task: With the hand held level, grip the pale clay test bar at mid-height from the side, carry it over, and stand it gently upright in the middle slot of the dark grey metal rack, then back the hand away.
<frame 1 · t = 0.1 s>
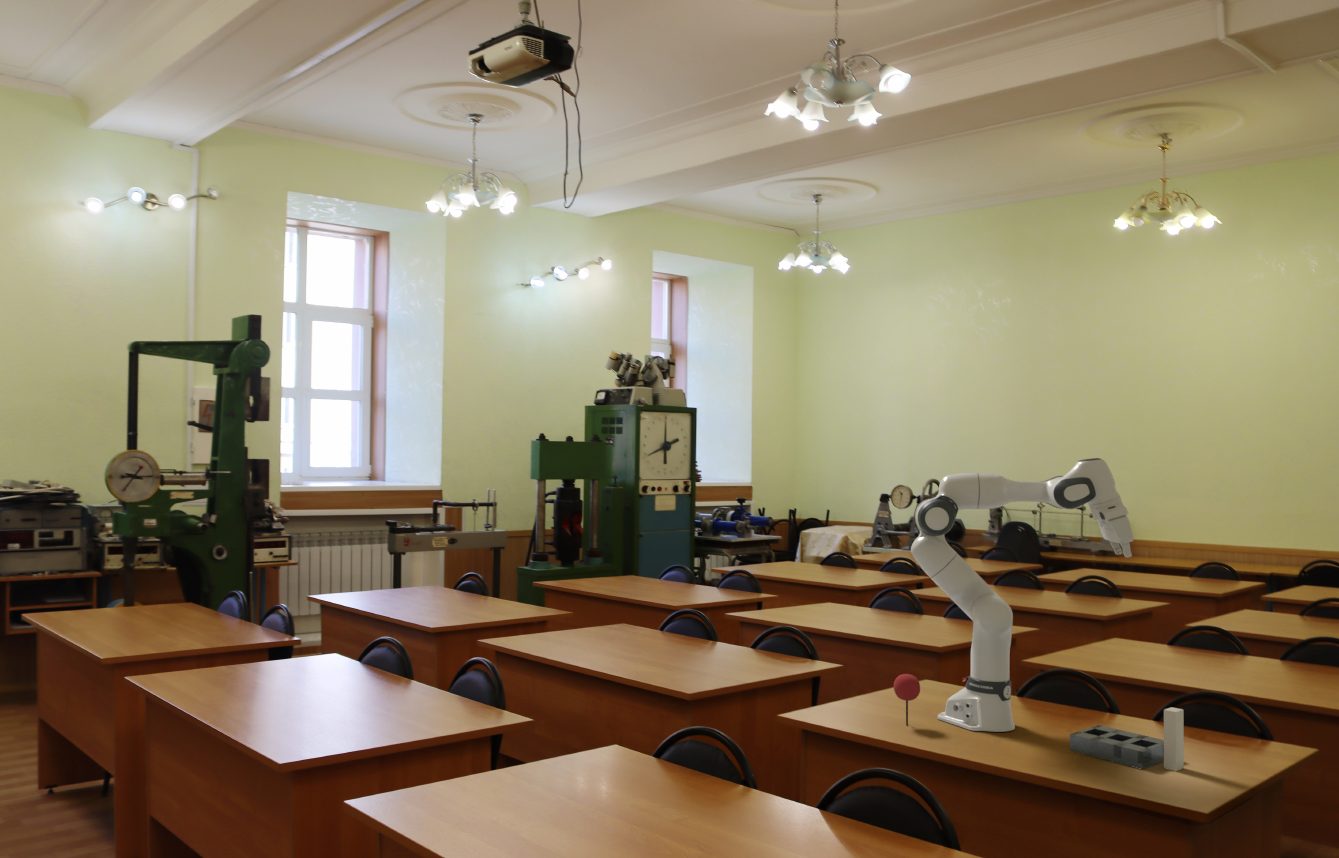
hand: (1124, 555, 277), 52 cm above the table, tool tilted 20°, fingers open, 8 cm apart
rack: (1119, 754, 256), on the table
lollipop: (906, 725, 281), on the table
clay bar: (1173, 768, 245), on the table
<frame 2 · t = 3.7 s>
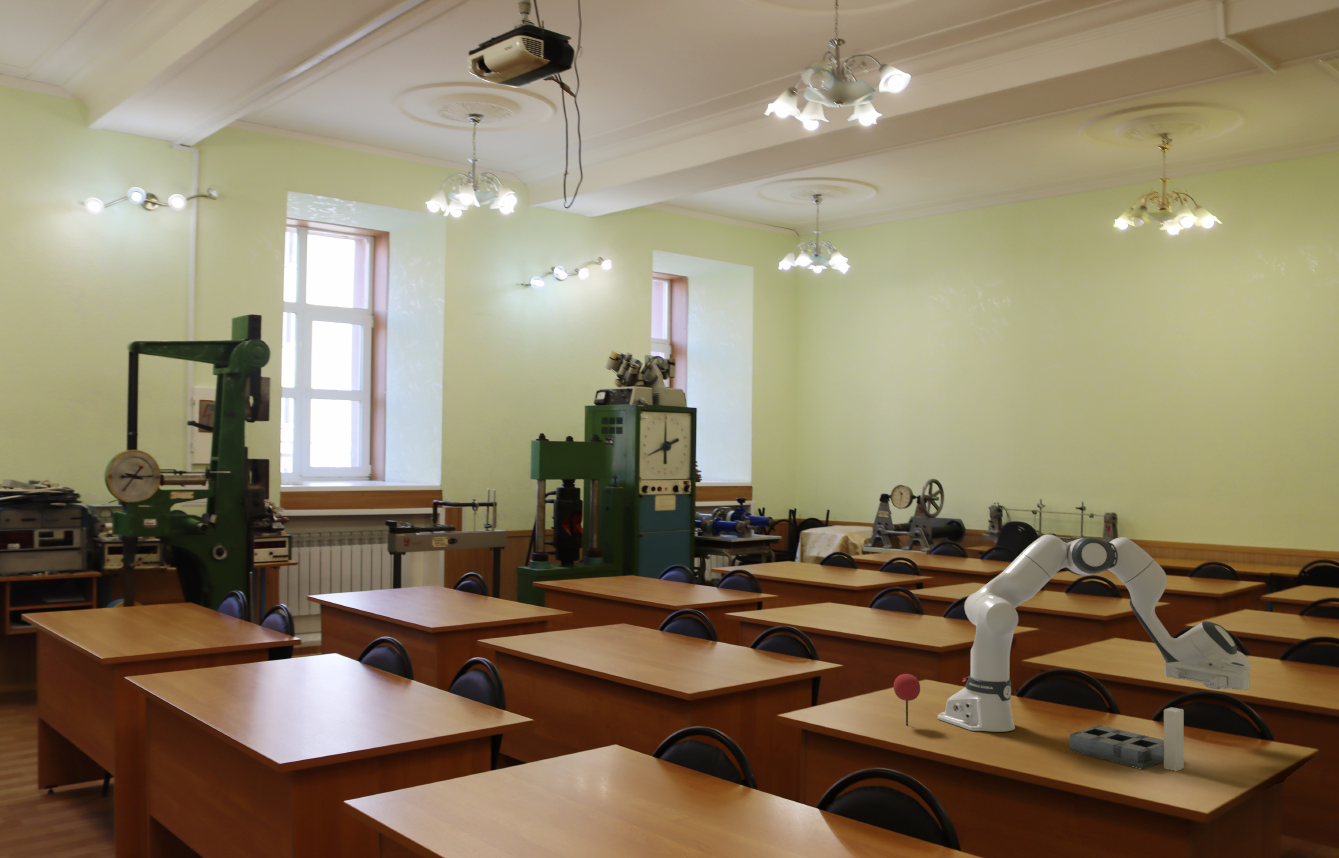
hand: (1193, 678, 253), 21 cm above the table, tool horizontal, fingers open, 8 cm apart
nothing on the table moved.
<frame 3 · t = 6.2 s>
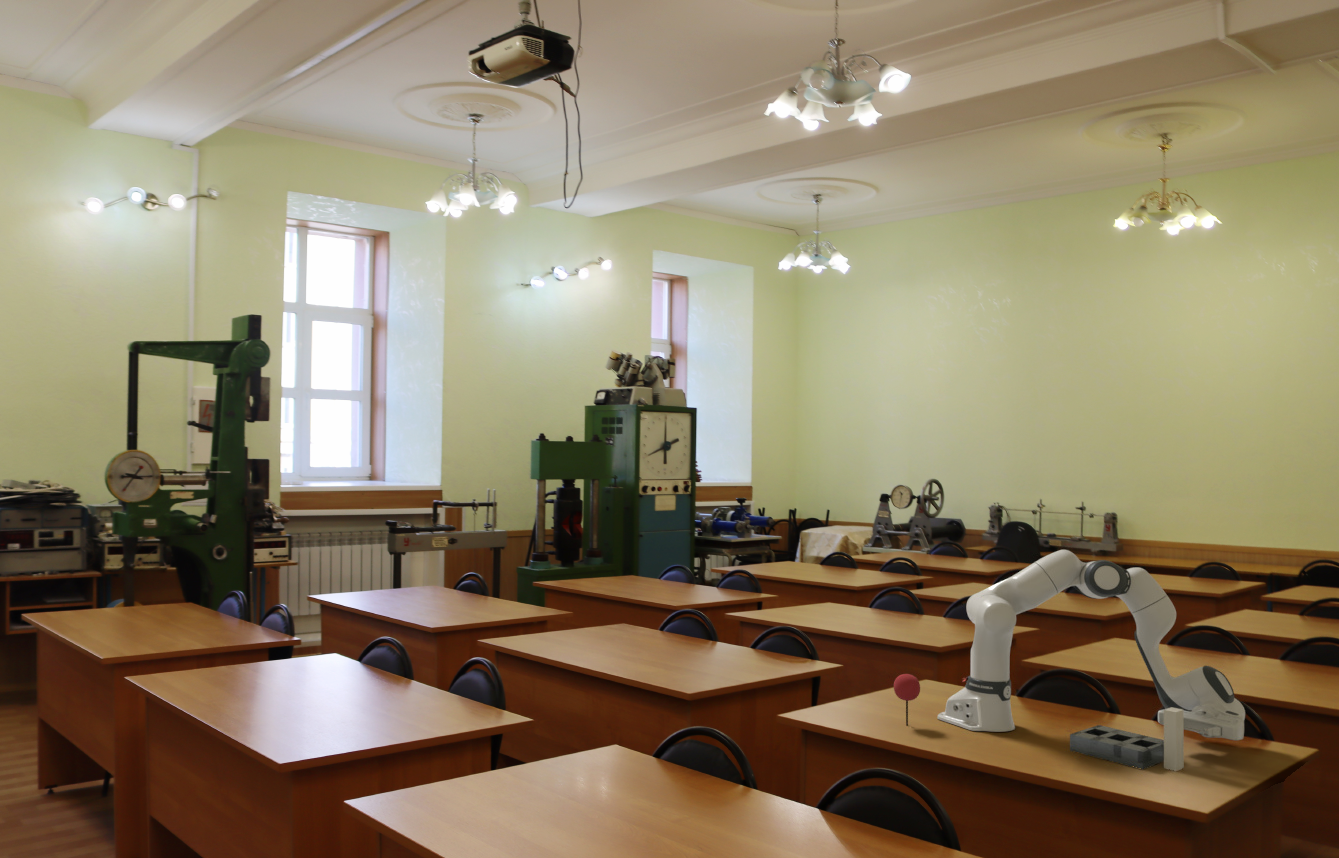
hand: (1187, 728, 251), 9 cm above the table, tool horizontal, fingers open, 8 cm apart
nothing on the table moved.
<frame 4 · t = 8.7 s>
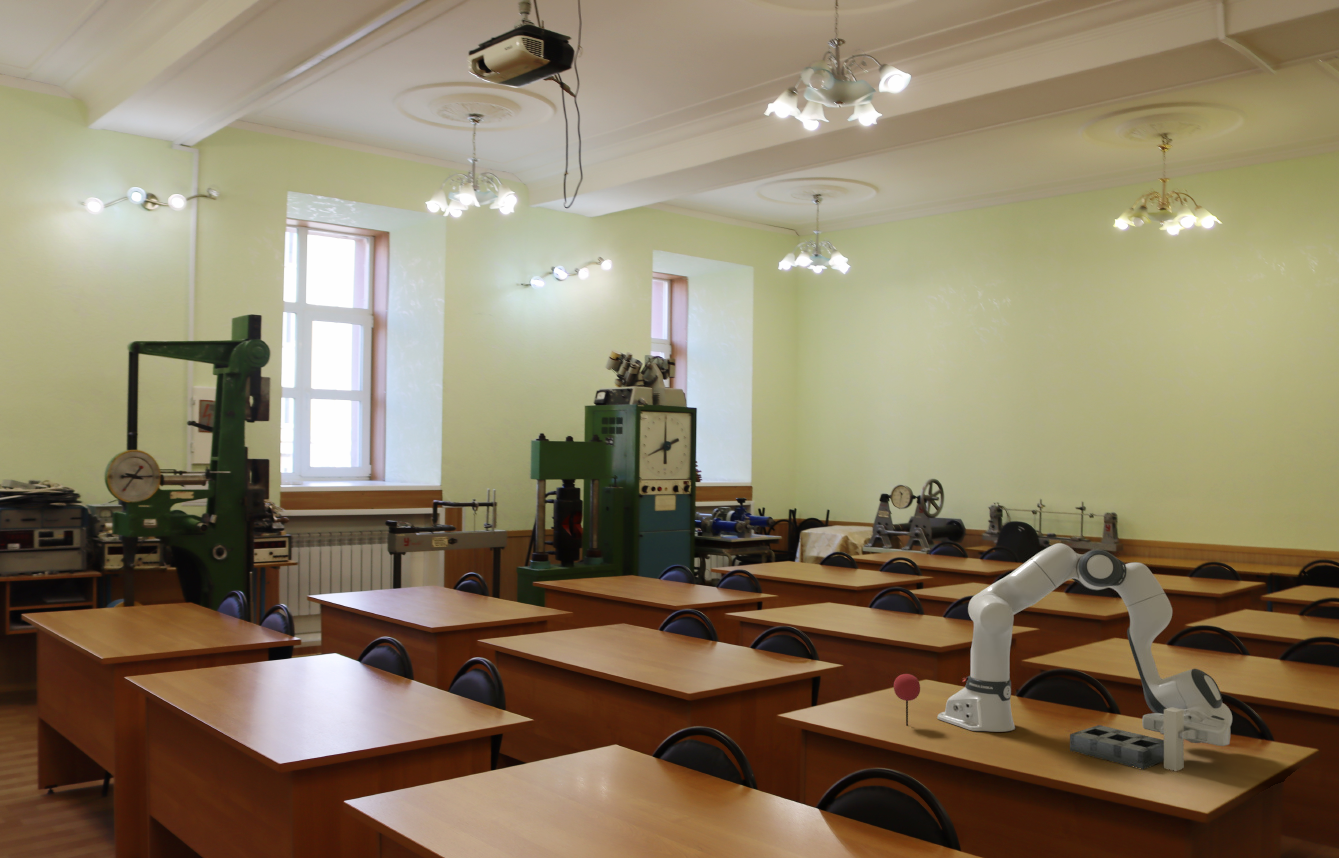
hand: (1172, 733, 245), 9 cm above the table, tool horizontal, fingers closed on clay bar, 3 cm apart
clay bar: (1173, 768, 245), on the table, touching gripper
everything else where it was.
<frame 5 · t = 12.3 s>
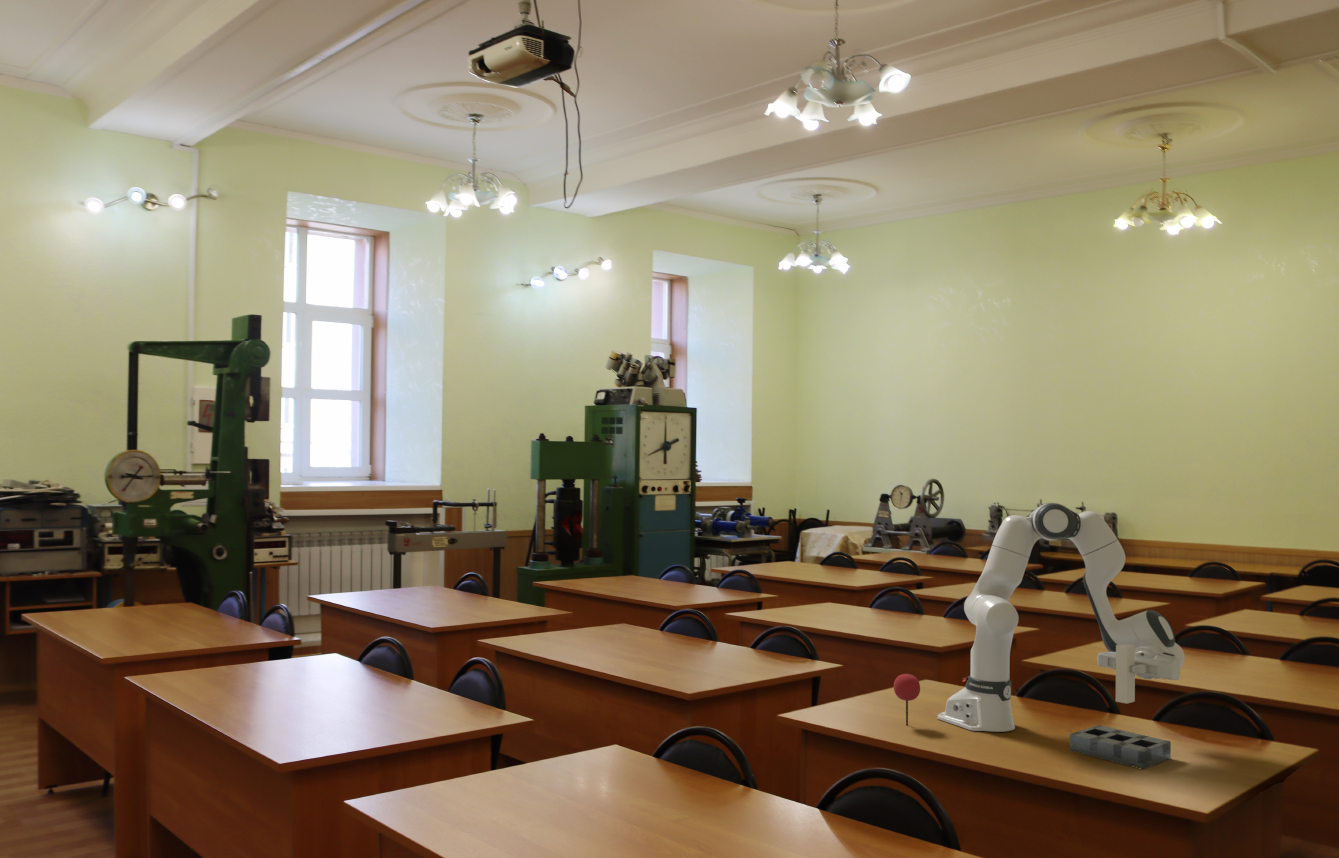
hand: (1123, 667, 255), 24 cm above the table, tool horizontal, fingers closed on clay bar, 3 cm apart
clay bar: (1125, 701, 255), point 15 cm above the table, touching gripper
everything else where it was.
when the fingers open (12 cm above the table, at t = 15.7 s): clay bar drops 1 cm, resting on rack.
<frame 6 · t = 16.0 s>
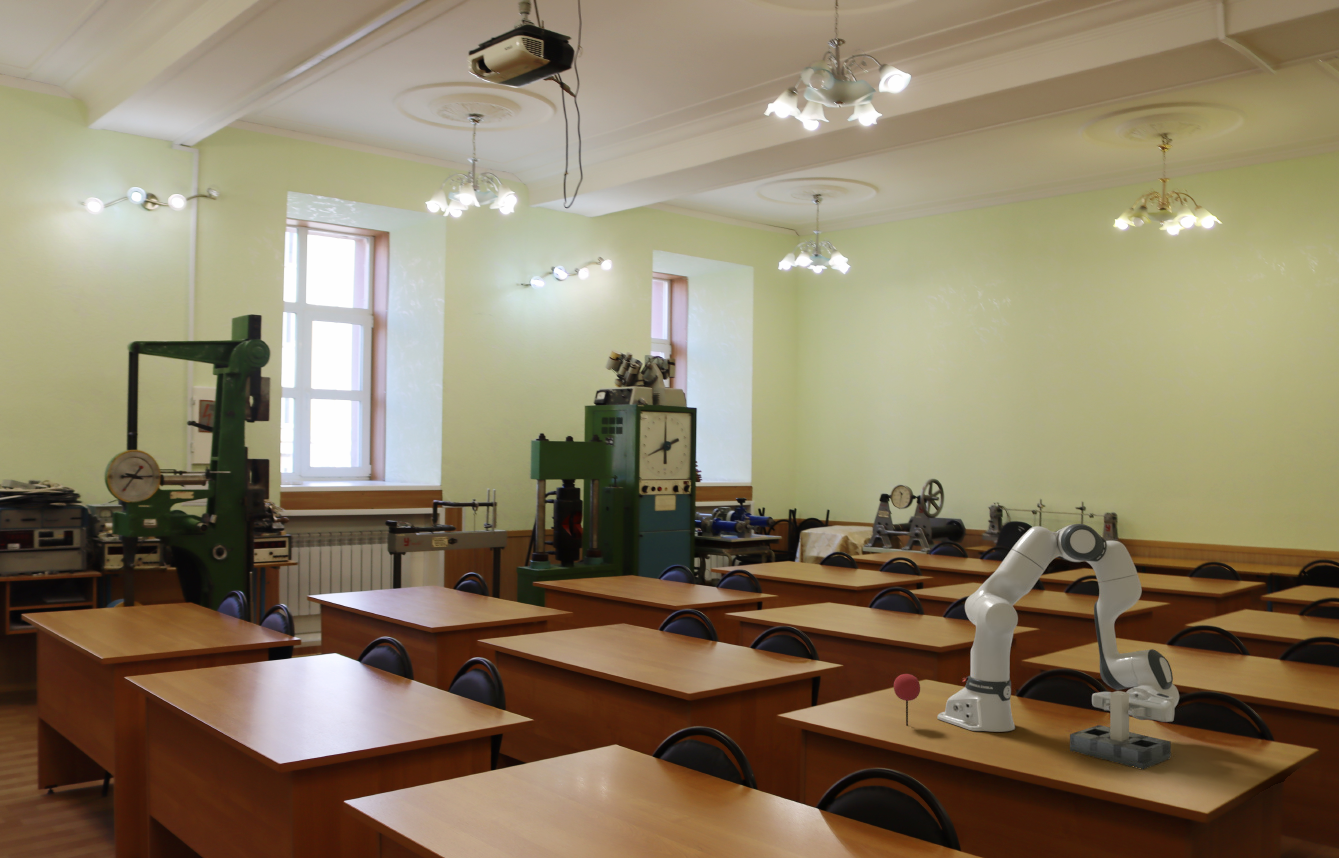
hand: (1118, 710, 256), 12 cm above the table, tool horizontal, fingers open, 5 cm apart
clay bar: (1119, 748, 256), point 2 cm above the table, touching rack
everything else where it was.
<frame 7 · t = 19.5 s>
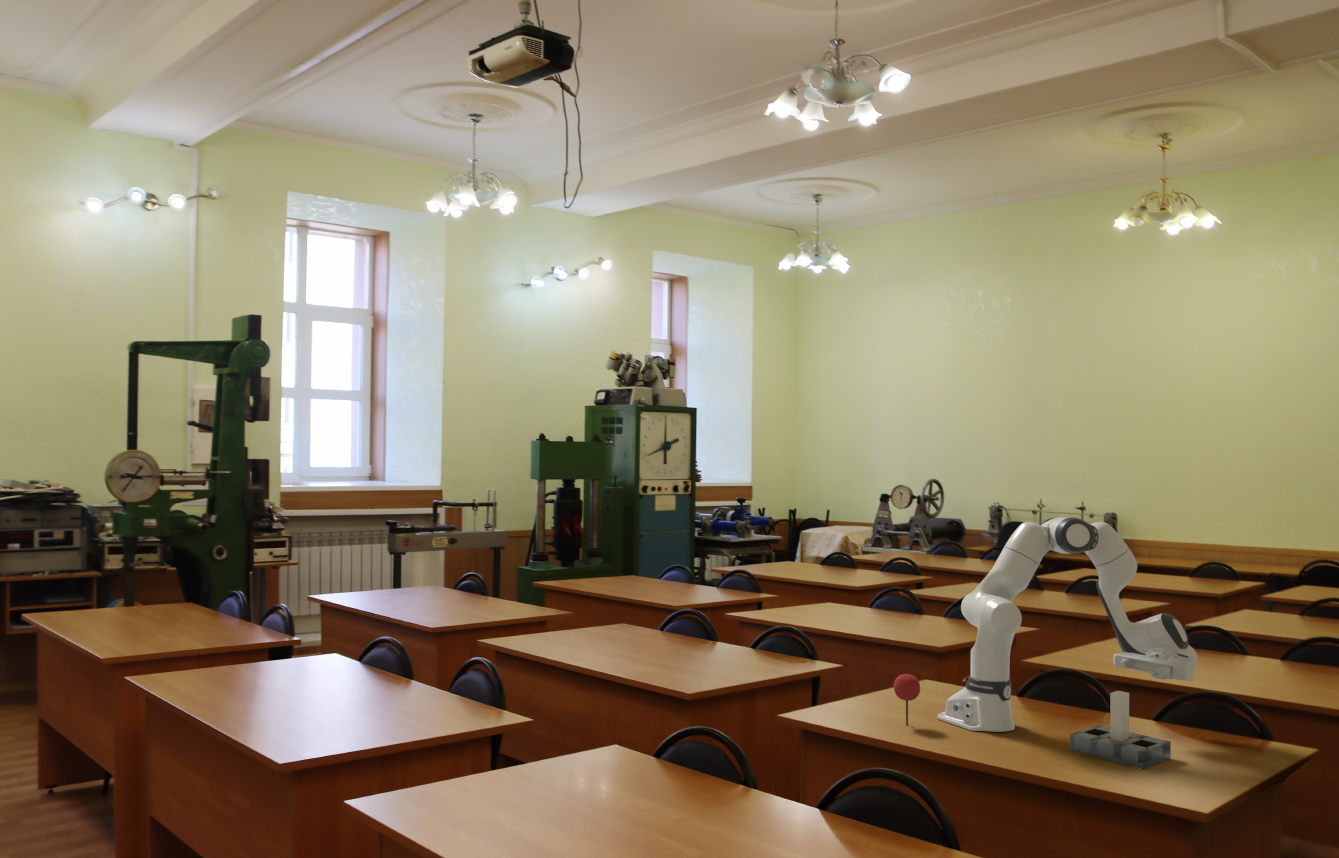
hand: (1139, 668, 264), 22 cm above the table, tool horizontal, fingers open, 8 cm apart
nothing on the table moved.
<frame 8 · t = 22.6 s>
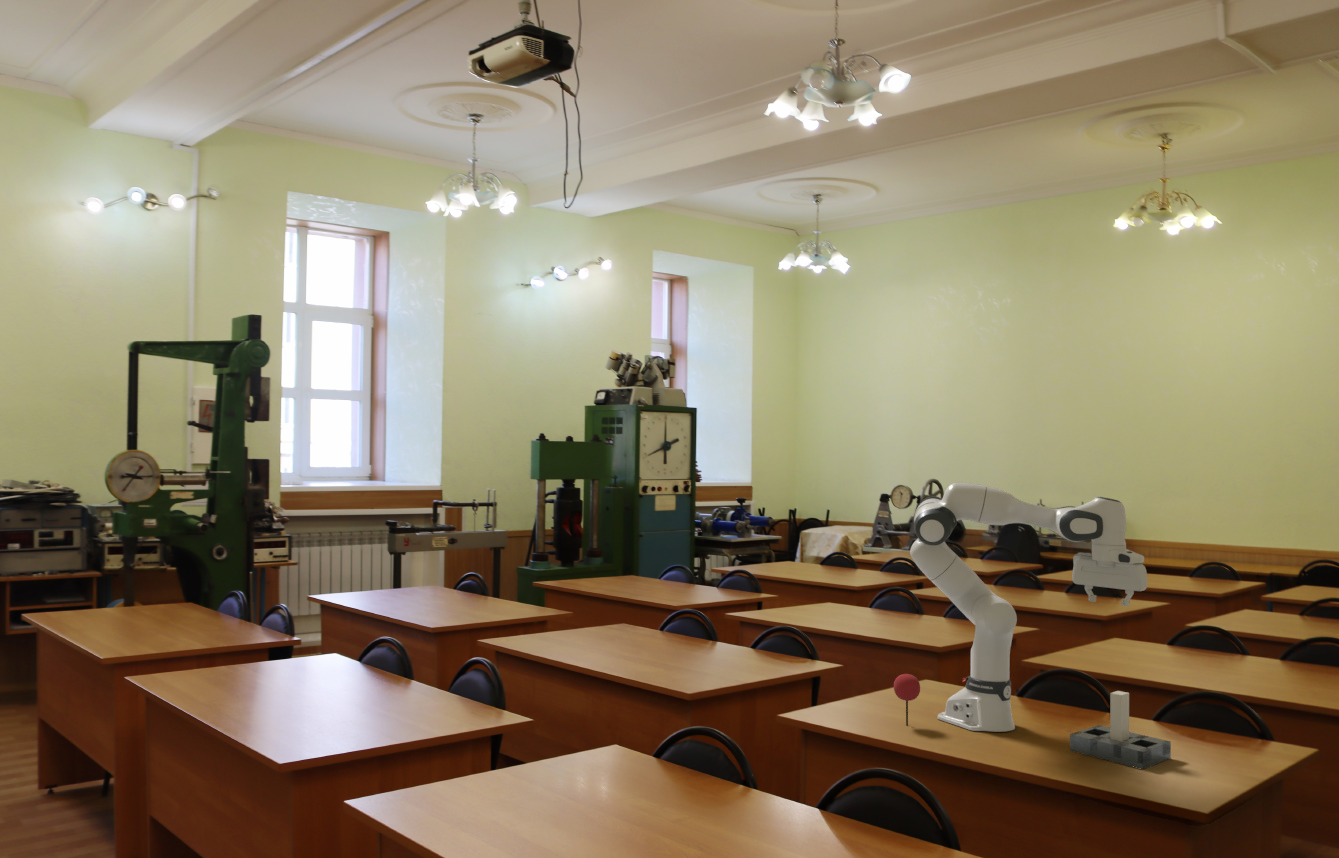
hand: (1108, 603, 268), 39 cm above the table, tool pointing down, fingers open, 8 cm apart
nothing on the table moved.
at the end: clay bar 0.0 cm off-centre on the rack, point 1.5 cm above the rack's base; clay bar tilted 0°; the gripper is holding nothing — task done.
